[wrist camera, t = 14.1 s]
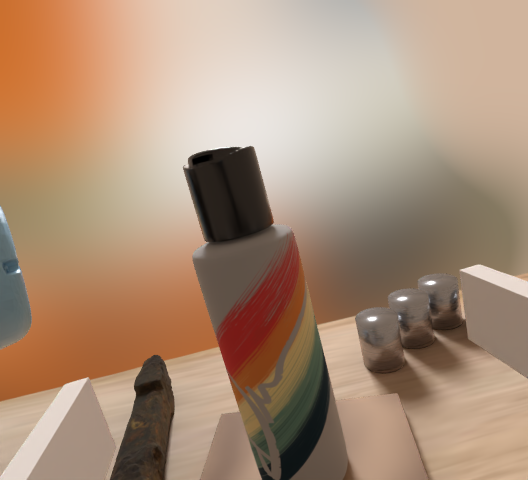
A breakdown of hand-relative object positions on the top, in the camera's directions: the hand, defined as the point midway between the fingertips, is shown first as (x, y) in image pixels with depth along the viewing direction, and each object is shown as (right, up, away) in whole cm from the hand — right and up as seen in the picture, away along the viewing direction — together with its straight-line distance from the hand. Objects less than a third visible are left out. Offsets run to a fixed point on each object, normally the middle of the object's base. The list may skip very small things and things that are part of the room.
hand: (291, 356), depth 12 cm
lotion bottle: (+2, -10, +10) cm, 15 cm away
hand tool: (-10, -14, +16) cm, 24 cm away
